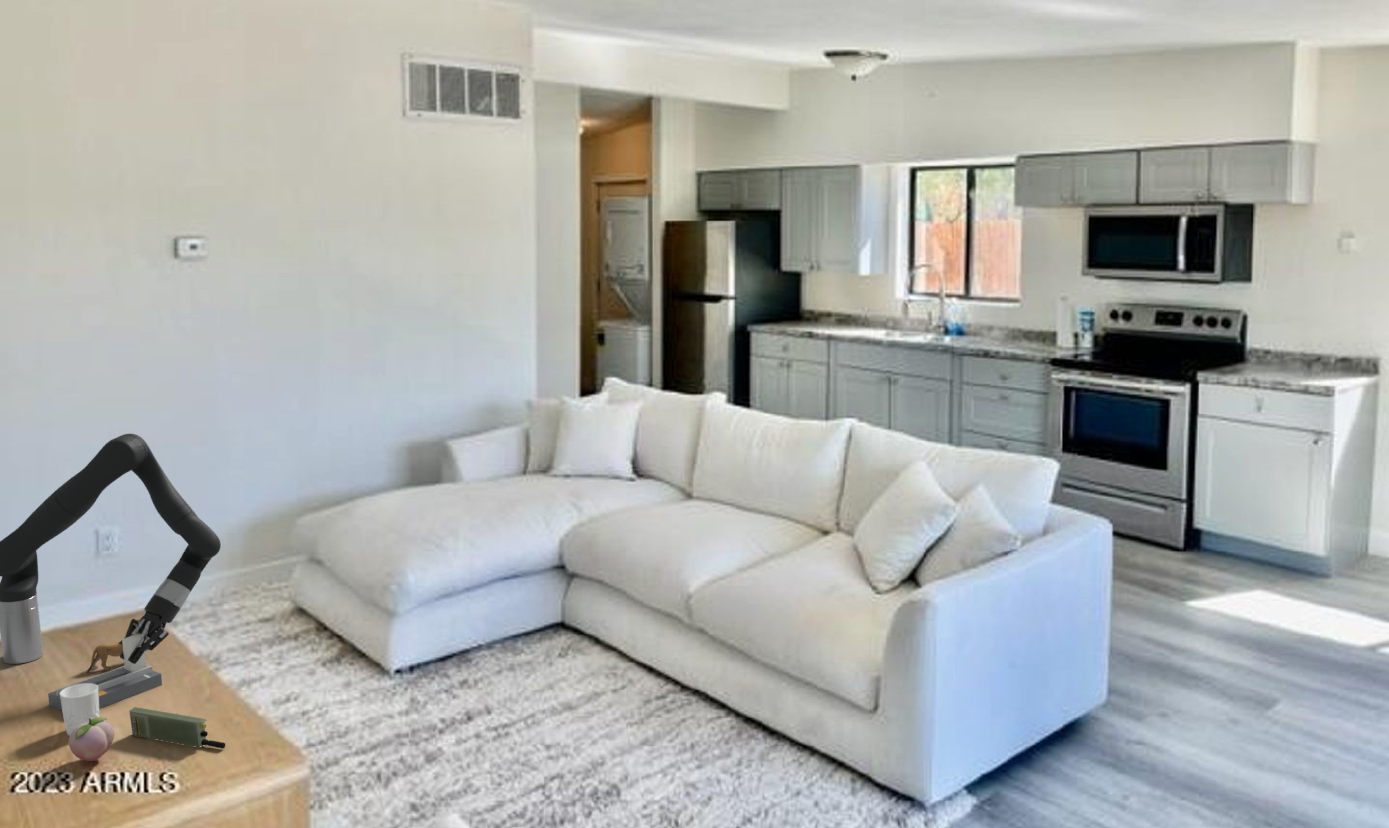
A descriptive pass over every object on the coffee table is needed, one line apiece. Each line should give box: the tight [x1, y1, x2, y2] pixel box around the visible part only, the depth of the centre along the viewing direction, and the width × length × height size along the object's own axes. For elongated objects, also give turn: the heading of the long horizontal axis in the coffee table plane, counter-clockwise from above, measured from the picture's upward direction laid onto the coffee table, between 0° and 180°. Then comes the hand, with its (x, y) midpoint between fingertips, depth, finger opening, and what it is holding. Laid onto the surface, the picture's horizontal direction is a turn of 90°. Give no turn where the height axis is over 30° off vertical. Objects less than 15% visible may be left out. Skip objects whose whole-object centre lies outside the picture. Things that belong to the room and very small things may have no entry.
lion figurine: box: [87, 633, 141, 672], centre depth 300 cm, size 15×5×9 cm, turn 133°
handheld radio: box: [129, 706, 226, 749], centre depth 258 cm, size 7×3×25 cm
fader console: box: [47, 665, 163, 711], centre depth 282 cm, size 12×22×4 cm, turn 148°
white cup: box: [60, 683, 100, 737], centre depth 263 cm, size 8×8×10 cm
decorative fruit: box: [68, 716, 115, 762], centre depth 249 cm, size 9×8×10 cm
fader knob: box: [121, 634, 148, 674], centre depth 288 cm, size 4×4×9 cm
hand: (127, 660), depth 286 cm, fingers closed on fader knob, 3 cm apart
